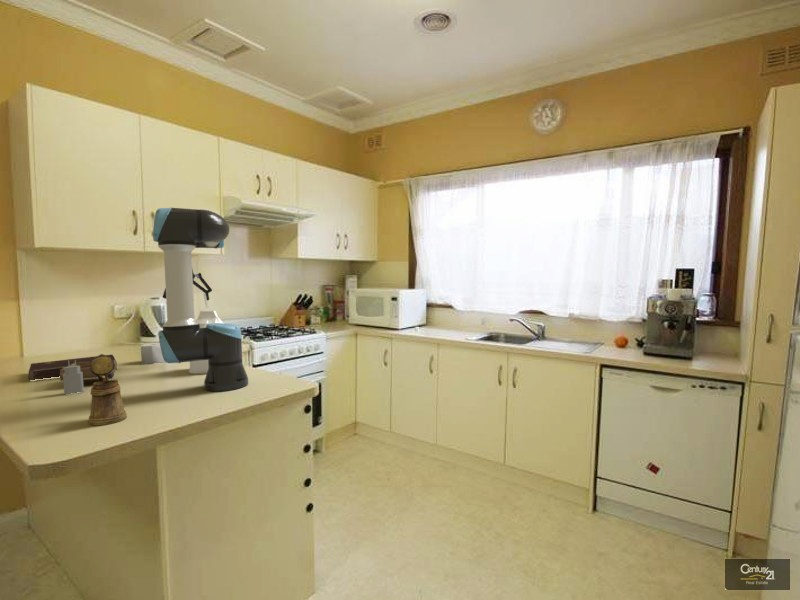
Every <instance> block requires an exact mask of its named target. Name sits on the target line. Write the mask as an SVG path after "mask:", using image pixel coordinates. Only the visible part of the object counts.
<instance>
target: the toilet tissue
mask: <svg viewBox="0 0 800 600" xmlns="http://www.w3.org/2000/svg"><path fill="white" fill-rule="evenodd" d="M140 355H141V356H140V357H141V364H142V363H143V364H142V365H154V364H153V363H160V364H166V362H165V361H164V359H163V356H162V352H161V347H160V342H151V343H144V344H141V345H140Z"/></svg>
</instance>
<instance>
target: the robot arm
mask: <svg viewBox="0 0 800 600" xmlns="http://www.w3.org/2000/svg"><path fill="white" fill-rule="evenodd" d="M152 229H153V233H152V240H153V241H154V242H156V243H158V244H157V246H158V248H159V249H160V250H161V251H162V252H163V262H164V264H163V265H164V280H165V281H164V282H165V283H164V284H165V288H164V291H163V294H162V299H166V301H165V302H166V318H167V320H166V321H165V323H163V324H162V330H159V331H158V332H157V333H158V334H157V335H158V341H159V342H158V343H160V347H161V352H162V356H163V359H164V361H165V362H166V363H167V364H182V363H190V362H191V361H201V360H208V365H209V367H208V371H207V373H205V374H206V375H205V378H204V382H203V388H204V390H206V391H208V392H210V391H211V392H226V391H227V392H228V391H232V390H238V389H242V388H244V387H246V386H248V385H249V377H248V374H247V371H246V369H245V366H244V363H243V346H242V343H243V342H242V339H243V336H242V331H241V330H242V329H241V327H240V326H238V325H237V324H232V323H224V322H223V323H208V324H207V325H206V328H200V323H199V322H198V321H197V319H196V316H195V302H194V301H195V297H194V286H195V287H197V288H198V289H199V290H200V291H202V292H203V299H204V304H205V308H206V309H208V308H209V305H208V304H209V303H208V301H210V295H209V293H212V291H213V289H212V288H211V286H210V285H209V284H208V283H207V281H206V280H205V279H204V277H203V275H202V272H198V273H194V270H193V261H192V259H193V258H192V252H193V250H195V249H222V248H224V247H225V240H226V239H227V237H228V236H229V235H230V234H229V233H230V225H229V223H228V221H227V220H226V219H225V217H223V216H222V215H220V214H218V213H217V212H214V211H211V210H208V209H197V208H196V209H195V208H193V209H192V208H183V207H181V208H180V207H159V208H157V209H156V211H155V214H154V219H153V228H152ZM195 277H196V278H197V279H199V281H200V282H201V283H202V284H203V285H204V287H205V288H204V287H203V286H201V285H200V283H198V282H197V281H196V280H195ZM166 363H165V364H166Z"/></svg>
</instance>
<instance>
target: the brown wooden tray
mask: <svg viewBox="0 0 800 600" xmlns="http://www.w3.org/2000/svg"><path fill="white" fill-rule="evenodd" d="M105 355H106V356H109V357H111V358H112V359H113V360H116V358H115V356H114V354H105ZM97 356H98V355H96V356H95V355H94V356H88V357H87V356H85V357H77V358H68V359H60V360H52V361H42V362H33V363H30V366H29V369H28V381H29V380H35V379H43V378H51V377H59V376H60V370H61V369H63V368H65V367H67V366H68V360H69V365H71V364H73V363H75V360H76V363H78V362H91V361H92V360H93V359H94V358H95V357H97ZM116 370H117V371H118V363H117V362H116Z"/></svg>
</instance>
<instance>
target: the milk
mask: <svg viewBox="0 0 800 600" xmlns="http://www.w3.org/2000/svg"><path fill="white" fill-rule="evenodd" d="M196 320H197V321H198V322H199V323H200V328H206V325H207V324H208V323H224V322H223V320H221V319H220V317H219V316H218V314H217V311H216V310H200V312H199V314H198V317H197V318H196ZM208 367H209V365H208V360H201V361H191V362H189V374H207V371H208Z"/></svg>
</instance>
